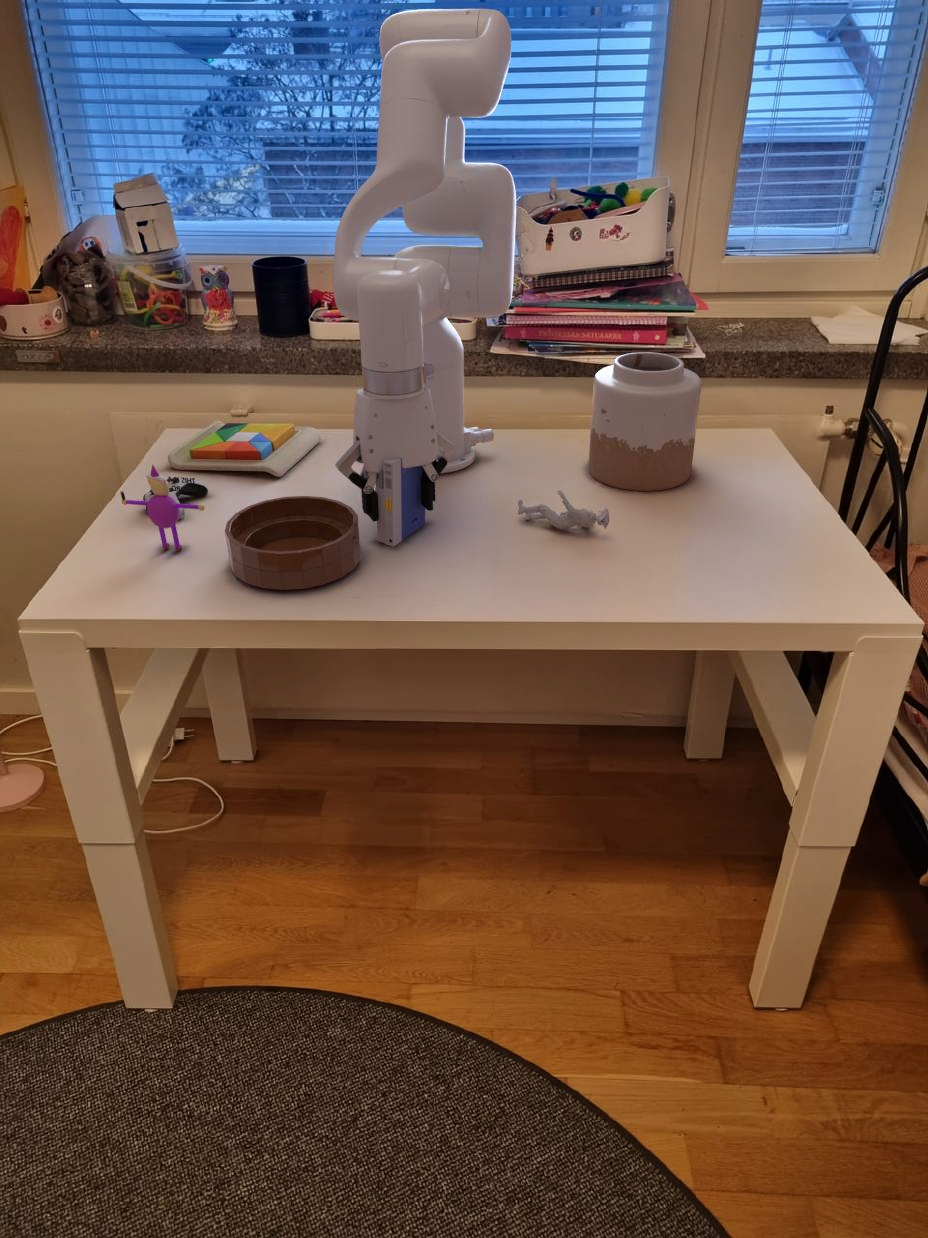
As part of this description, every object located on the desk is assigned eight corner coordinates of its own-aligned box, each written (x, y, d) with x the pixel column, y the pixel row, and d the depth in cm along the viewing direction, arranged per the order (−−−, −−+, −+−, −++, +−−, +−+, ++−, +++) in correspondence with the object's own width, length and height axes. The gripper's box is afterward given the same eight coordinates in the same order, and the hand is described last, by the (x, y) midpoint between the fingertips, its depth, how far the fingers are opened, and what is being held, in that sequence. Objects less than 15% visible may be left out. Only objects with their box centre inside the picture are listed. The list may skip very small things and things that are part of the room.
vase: (672, 499, 137) (685, 384, 128) (572, 480, 143) (578, 368, 135) (703, 462, 149) (716, 354, 140) (609, 446, 155) (617, 341, 146)
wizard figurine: (216, 549, 126) (202, 462, 119) (206, 560, 123) (191, 472, 117) (136, 542, 128) (118, 456, 121) (124, 553, 125) (105, 466, 119)
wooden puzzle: (220, 430, 163) (217, 409, 161) (323, 439, 159) (321, 419, 157) (166, 469, 149) (162, 447, 147) (278, 481, 144) (275, 459, 143)
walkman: (408, 519, 132) (407, 436, 126) (425, 524, 131) (425, 440, 125) (375, 541, 127) (373, 456, 120) (393, 547, 125) (391, 461, 119)
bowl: (338, 524, 131) (334, 487, 129) (378, 576, 119) (376, 536, 116) (219, 548, 126) (212, 509, 123) (248, 605, 113) (242, 564, 110)
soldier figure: (535, 515, 135) (617, 502, 130) (535, 548, 134) (618, 535, 129) (512, 494, 129) (598, 478, 123) (512, 528, 127) (598, 513, 122)
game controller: (184, 516, 132) (149, 485, 131) (163, 538, 135) (129, 508, 133) (213, 487, 140) (181, 458, 139) (193, 509, 143) (161, 481, 141)
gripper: (446, 361, 124) (449, 490, 133) (315, 379, 118) (327, 513, 127) (470, 377, 118) (471, 511, 127) (334, 397, 112) (345, 535, 121)
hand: (399, 511), depth 127 cm, fingers open, 7 cm apart
